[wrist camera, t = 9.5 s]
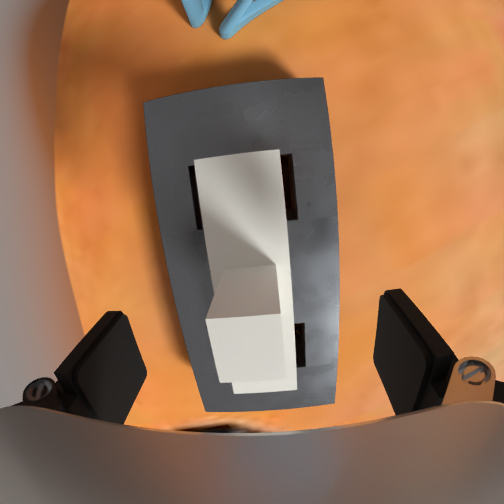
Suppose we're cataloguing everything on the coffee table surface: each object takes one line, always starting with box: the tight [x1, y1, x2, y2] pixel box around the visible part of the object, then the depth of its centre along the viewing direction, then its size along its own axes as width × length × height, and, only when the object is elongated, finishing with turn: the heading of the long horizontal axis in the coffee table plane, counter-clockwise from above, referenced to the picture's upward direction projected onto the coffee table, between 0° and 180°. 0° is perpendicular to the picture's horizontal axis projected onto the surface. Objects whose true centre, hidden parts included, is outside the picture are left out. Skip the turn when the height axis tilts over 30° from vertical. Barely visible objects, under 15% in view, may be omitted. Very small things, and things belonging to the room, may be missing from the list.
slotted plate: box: [143, 78, 340, 412], centre depth 19 cm, size 22×10×4 cm, turn 7°
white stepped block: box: [194, 149, 297, 394], centre depth 15 cm, size 14×4×10 cm, turn 7°
